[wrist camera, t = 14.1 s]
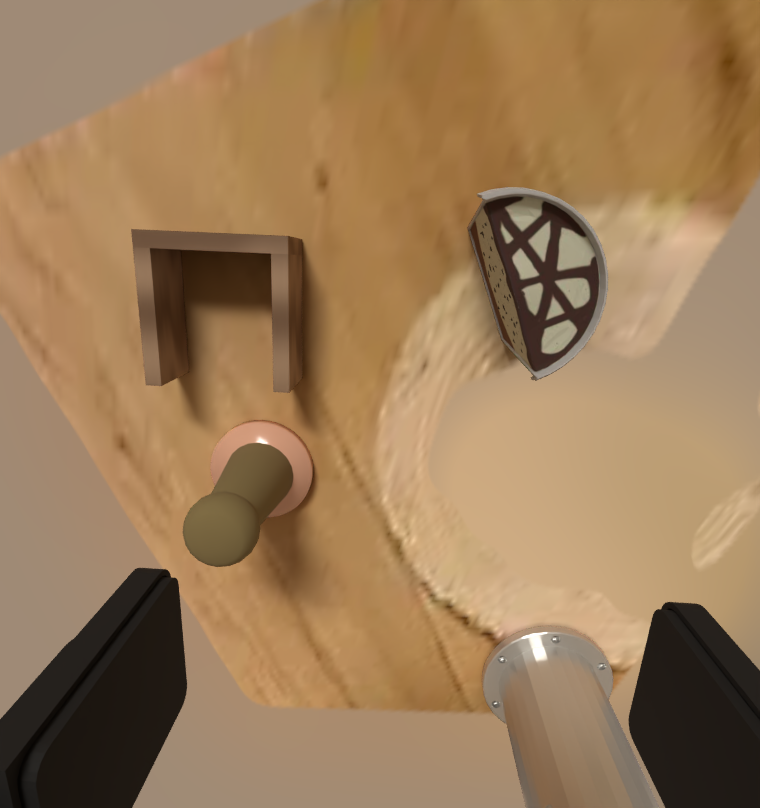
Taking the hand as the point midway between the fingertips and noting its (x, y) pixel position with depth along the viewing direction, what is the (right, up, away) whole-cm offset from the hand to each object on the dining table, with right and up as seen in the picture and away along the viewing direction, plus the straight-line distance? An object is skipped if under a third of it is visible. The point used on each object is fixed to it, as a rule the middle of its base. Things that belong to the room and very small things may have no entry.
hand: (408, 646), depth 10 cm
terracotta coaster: (-11, -1, +34) cm, 36 cm away
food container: (+11, +15, +29) cm, 34 cm away
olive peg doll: (-11, -1, +34) cm, 36 cm away
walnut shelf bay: (-12, +13, +31) cm, 35 cm away
